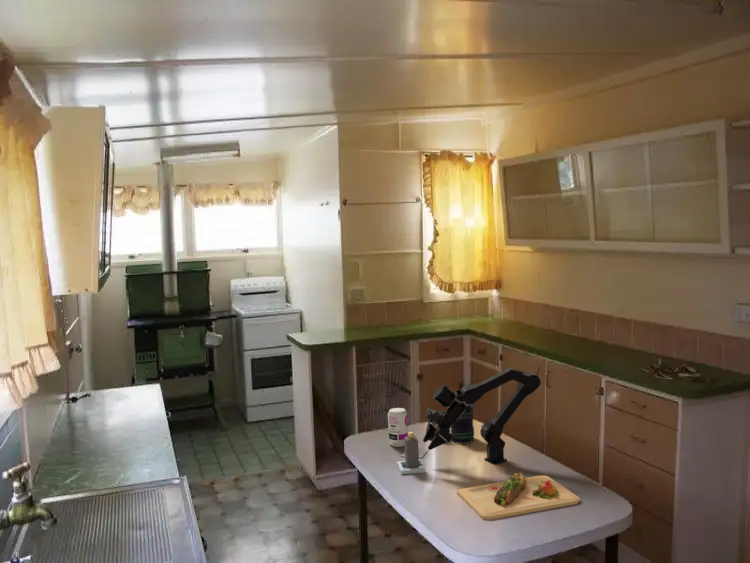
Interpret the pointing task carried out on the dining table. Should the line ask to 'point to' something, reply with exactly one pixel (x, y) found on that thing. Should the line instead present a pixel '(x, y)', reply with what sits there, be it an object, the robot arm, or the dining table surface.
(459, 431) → the storage jar
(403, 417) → the supplement can
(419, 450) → the grey pad
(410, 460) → the plug block
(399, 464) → the blue bay
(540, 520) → the dining table surface
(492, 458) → the robot arm
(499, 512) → the cutting board
